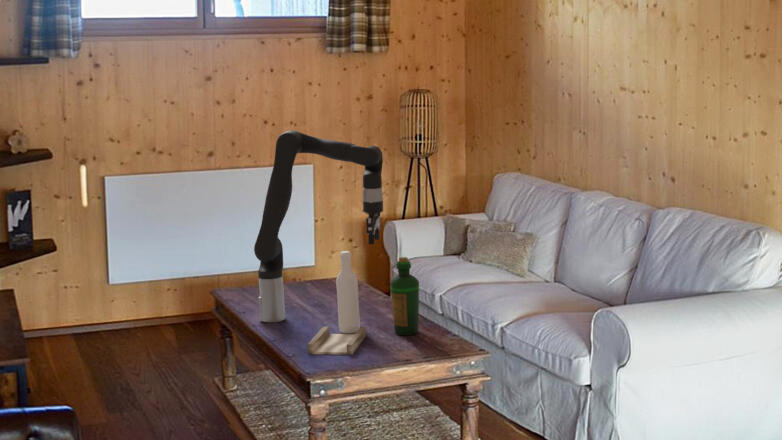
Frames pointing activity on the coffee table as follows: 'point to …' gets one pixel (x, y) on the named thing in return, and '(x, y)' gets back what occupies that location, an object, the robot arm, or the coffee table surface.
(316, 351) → the cradle
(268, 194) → the robot arm
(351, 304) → the bottle
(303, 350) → the coffee table surface
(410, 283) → the bottle
